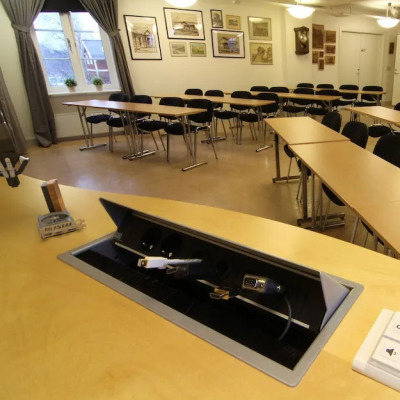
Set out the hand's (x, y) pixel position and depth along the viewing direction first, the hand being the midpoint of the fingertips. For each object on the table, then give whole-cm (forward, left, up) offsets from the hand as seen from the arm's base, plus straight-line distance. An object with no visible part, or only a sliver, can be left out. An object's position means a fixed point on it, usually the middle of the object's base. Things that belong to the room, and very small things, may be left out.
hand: (15, 186), depth 111 cm
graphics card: (+12, -12, -13) cm, 21 cm away
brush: (+10, 0, -13) cm, 16 cm away
